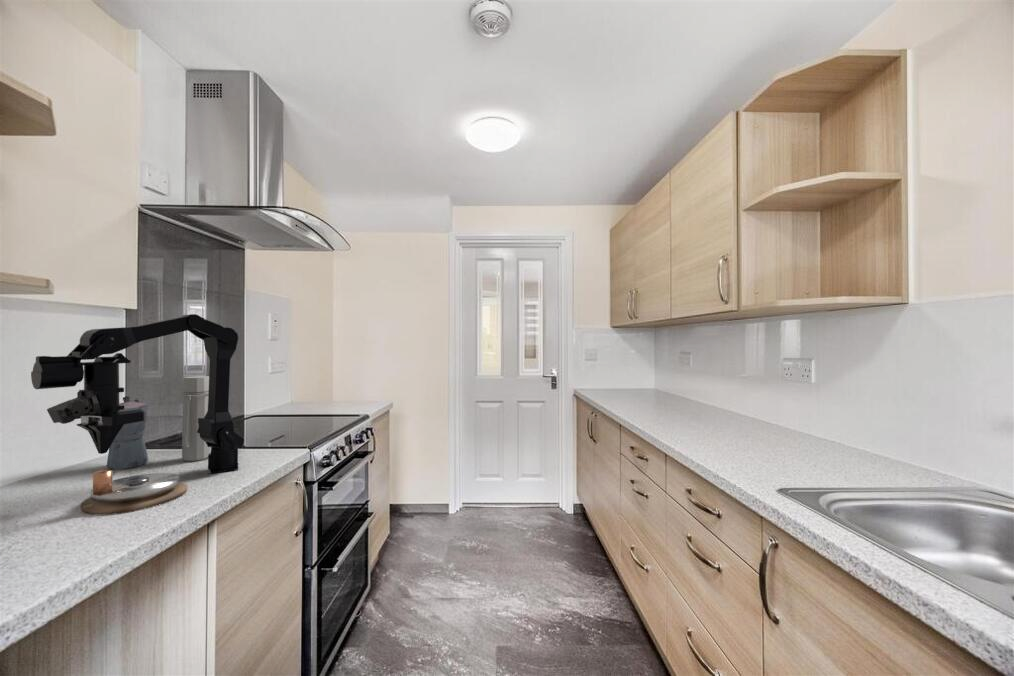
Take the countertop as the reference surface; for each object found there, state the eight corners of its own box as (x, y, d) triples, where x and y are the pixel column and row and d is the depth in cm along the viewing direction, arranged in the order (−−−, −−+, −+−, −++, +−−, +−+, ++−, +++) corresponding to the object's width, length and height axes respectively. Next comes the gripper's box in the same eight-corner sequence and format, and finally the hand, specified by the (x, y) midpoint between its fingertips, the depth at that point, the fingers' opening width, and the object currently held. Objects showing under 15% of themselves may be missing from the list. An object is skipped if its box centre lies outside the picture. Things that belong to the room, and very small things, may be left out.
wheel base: (190, 480, 108) (190, 475, 108) (181, 503, 93) (182, 497, 93) (94, 493, 98) (95, 488, 98) (67, 521, 83) (67, 515, 83)
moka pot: (94, 474, 112) (95, 400, 112) (115, 460, 126) (116, 393, 126) (140, 469, 116) (141, 398, 117) (155, 456, 130) (156, 392, 130)
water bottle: (190, 456, 131) (191, 376, 131) (217, 455, 132) (218, 376, 132) (170, 464, 122) (171, 378, 122) (199, 463, 123) (200, 378, 123)
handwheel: (150, 479, 105) (151, 452, 105) (194, 485, 100) (194, 457, 100) (70, 501, 90) (71, 470, 90) (117, 510, 85) (118, 477, 86)
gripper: (26, 387, 89) (27, 460, 90) (83, 390, 84) (84, 467, 84) (91, 381, 100) (92, 446, 100) (146, 384, 95) (146, 452, 95)
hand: (102, 453), depth 94 cm, fingers closed
